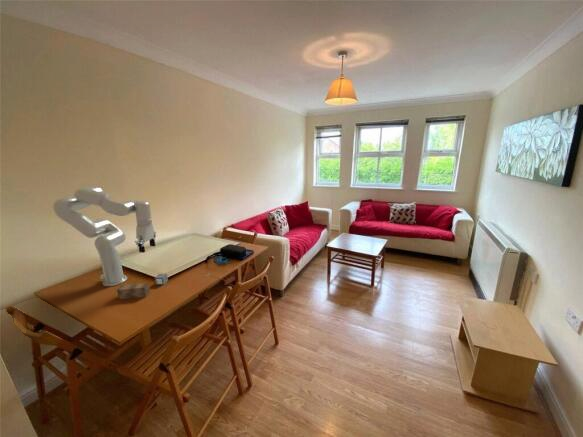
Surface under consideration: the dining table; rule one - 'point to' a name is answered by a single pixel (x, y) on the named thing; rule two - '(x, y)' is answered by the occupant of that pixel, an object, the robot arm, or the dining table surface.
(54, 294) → the dining table surface
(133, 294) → the walnut screen
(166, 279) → the marked cube
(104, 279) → the robot arm
